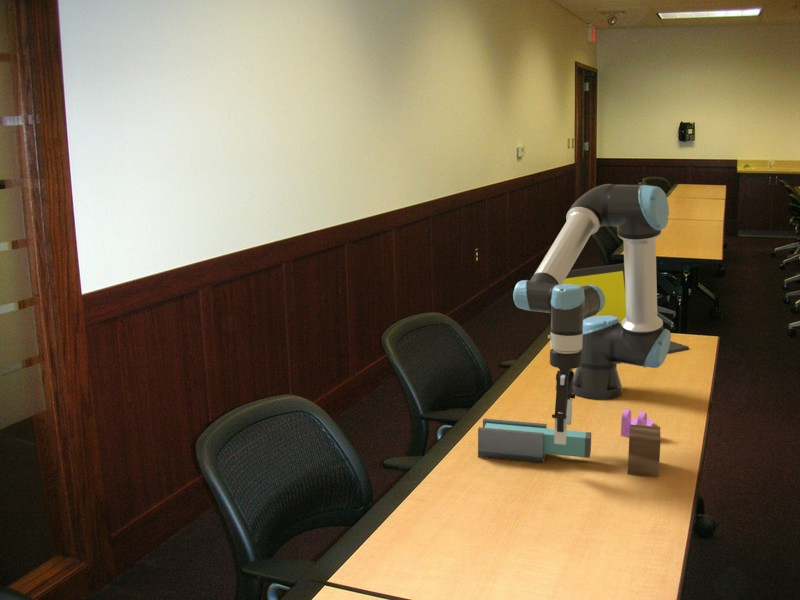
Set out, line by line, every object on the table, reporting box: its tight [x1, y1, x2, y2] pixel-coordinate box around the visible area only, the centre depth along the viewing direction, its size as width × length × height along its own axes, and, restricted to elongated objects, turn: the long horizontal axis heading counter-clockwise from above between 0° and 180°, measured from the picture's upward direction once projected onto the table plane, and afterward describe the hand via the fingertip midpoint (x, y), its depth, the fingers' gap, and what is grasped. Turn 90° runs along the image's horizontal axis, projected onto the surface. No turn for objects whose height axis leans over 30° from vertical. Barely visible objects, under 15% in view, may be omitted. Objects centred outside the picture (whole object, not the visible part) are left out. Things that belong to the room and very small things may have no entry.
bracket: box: [620, 408, 655, 438], centre depth 222 cm, size 13×6×7 cm, turn 147°
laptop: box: [562, 263, 690, 364], centre depth 301 cm, size 33×35×26 cm
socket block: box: [627, 424, 661, 478], centre depth 198 cm, size 9×7×9 cm
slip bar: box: [484, 423, 592, 459], centre depth 205 cm, size 4×26×5 cm, turn 73°
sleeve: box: [477, 418, 548, 465], centre depth 207 cm, size 7×16×8 cm, turn 73°
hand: (563, 433), depth 203 cm, fingers open, 13 cm apart
